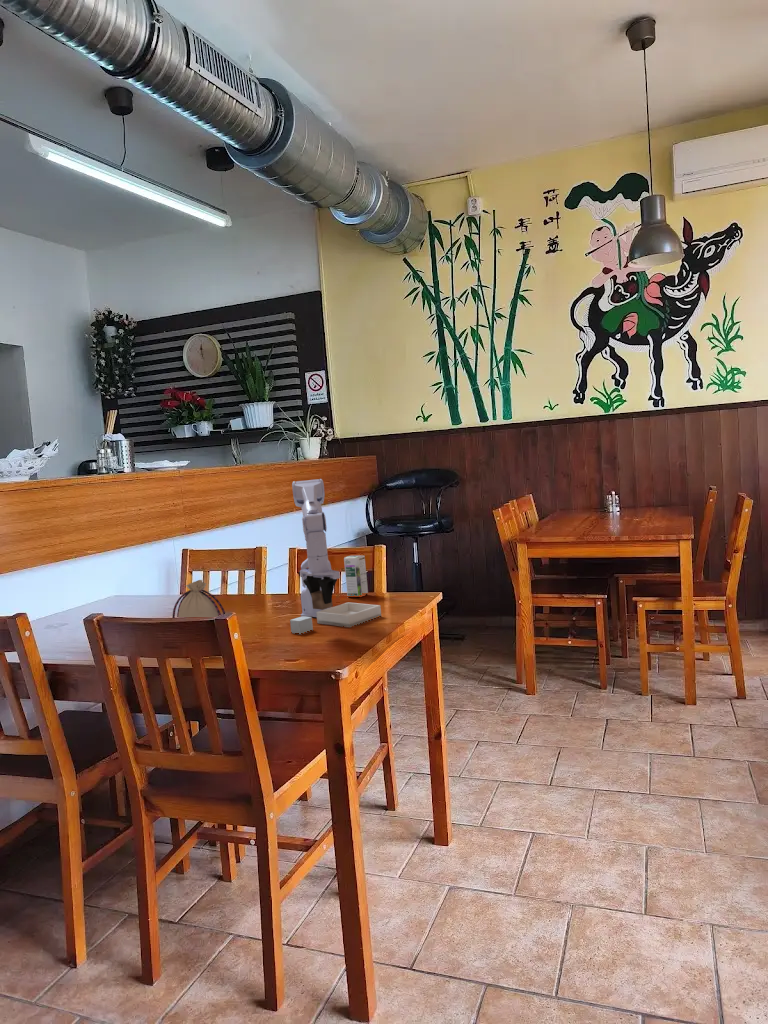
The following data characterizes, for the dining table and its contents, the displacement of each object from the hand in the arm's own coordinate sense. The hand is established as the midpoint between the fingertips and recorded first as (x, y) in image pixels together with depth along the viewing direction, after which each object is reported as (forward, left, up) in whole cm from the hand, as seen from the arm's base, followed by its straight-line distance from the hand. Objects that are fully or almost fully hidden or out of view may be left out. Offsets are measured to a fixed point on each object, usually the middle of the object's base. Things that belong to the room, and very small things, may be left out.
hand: (322, 602), depth 209 cm
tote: (-6, +16, -9) cm, 19 cm away
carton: (-10, 0, -10) cm, 14 cm away
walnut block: (0, 0, -1) cm, 1 cm away
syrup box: (-29, +44, -10) cm, 54 cm away
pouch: (-26, -24, -10) cm, 37 cm away
